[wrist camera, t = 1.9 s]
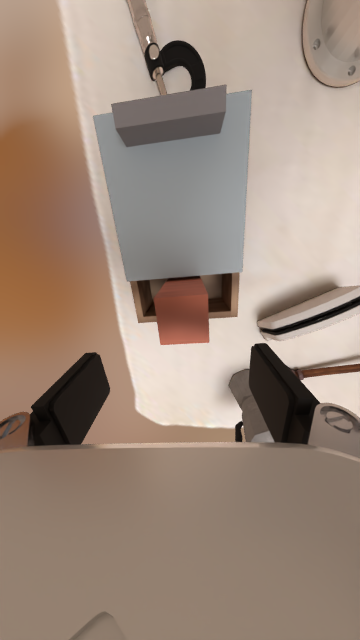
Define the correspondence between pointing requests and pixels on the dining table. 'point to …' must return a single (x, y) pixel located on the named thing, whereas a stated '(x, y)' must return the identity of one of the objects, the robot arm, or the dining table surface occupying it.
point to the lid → (178, 181)
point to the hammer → (326, 371)
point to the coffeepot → (248, 411)
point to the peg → (182, 311)
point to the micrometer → (165, 50)
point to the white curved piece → (312, 314)
